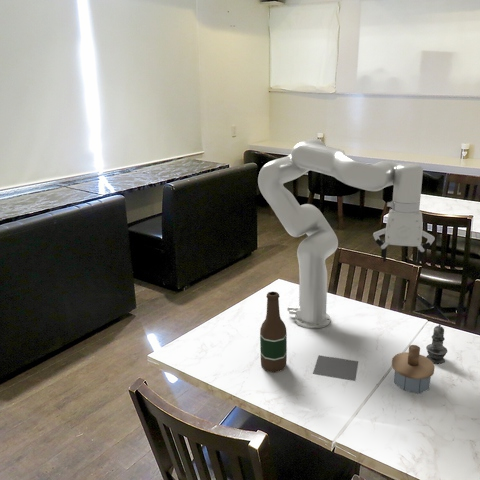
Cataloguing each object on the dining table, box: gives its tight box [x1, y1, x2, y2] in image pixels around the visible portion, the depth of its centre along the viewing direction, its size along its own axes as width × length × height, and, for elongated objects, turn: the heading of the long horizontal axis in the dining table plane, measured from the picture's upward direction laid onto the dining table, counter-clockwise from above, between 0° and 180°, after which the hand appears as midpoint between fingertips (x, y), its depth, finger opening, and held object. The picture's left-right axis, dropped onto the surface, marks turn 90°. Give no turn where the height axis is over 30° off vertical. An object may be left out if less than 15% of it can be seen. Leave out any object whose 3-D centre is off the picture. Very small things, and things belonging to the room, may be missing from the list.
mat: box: [312, 354, 359, 382], centre depth 135 cm, size 12×10×1 cm
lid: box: [391, 344, 436, 379], centre depth 125 cm, size 11×11×6 cm
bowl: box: [393, 370, 432, 395], centre depth 127 cm, size 9×9×5 cm
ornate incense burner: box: [425, 323, 448, 365], centre depth 136 cm, size 6×6×12 cm
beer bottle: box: [259, 291, 288, 373], centre depth 134 cm, size 8×8×24 cm
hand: (401, 261), depth 138 cm, fingers open, 9 cm apart
